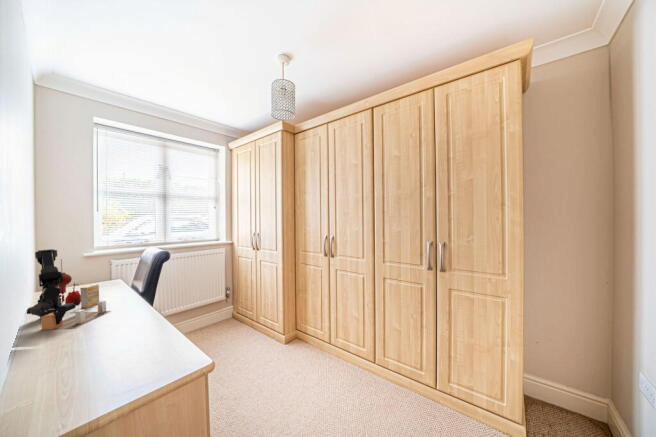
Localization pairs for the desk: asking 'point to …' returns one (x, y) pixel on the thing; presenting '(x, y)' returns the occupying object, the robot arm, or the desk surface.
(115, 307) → the desk surface
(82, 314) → the white post
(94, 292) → the supplement box
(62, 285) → the lantern
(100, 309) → the steel post
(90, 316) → the walnut board
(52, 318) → the peach wooden cube
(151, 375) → the desk surface
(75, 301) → the red clay folk toy
